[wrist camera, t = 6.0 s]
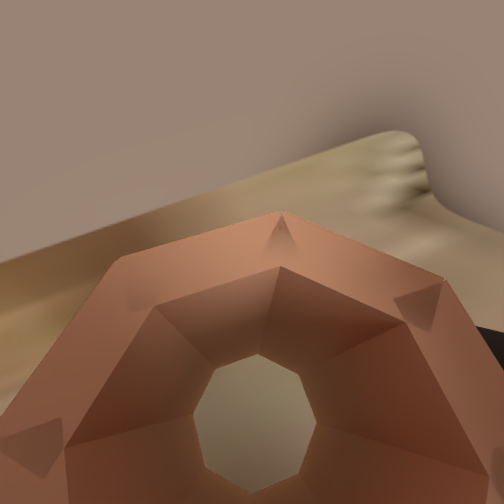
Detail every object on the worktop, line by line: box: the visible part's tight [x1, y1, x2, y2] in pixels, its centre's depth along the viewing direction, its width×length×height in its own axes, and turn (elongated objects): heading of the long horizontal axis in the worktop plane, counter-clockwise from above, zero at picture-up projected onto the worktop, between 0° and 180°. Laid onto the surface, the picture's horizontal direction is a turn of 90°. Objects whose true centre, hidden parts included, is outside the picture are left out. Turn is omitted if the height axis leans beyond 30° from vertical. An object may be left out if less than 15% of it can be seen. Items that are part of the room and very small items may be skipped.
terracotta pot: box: [0, 211, 504, 504], centre depth 8 cm, size 6×6×10 cm
